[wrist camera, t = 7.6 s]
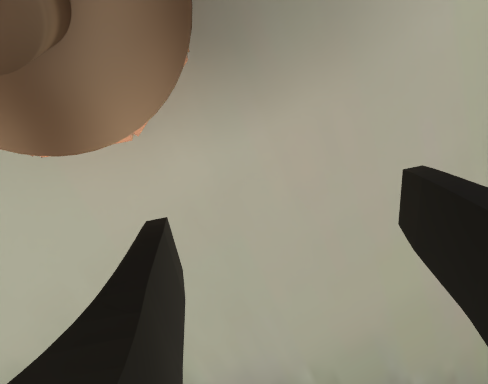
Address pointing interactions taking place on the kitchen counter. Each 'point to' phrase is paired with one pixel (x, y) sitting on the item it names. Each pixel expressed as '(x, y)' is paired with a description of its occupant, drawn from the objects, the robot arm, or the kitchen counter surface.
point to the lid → (86, 70)
